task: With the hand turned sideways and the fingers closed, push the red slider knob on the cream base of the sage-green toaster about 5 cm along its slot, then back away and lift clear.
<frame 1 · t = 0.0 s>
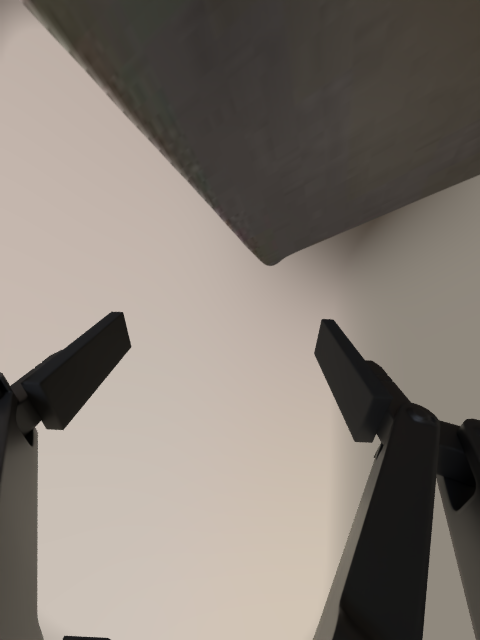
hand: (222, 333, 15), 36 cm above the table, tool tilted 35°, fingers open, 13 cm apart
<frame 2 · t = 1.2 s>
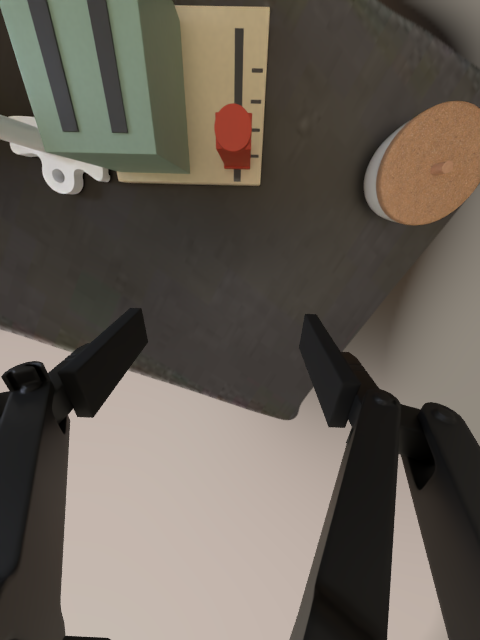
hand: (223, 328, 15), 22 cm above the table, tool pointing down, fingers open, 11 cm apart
trinket box: (390, 178, 30), on the table
toaster: (238, 114, 27), on the table
slider: (235, 144, 22), point 8 cm above the table, slide at 0.0 cm
joystick: (70, 163, 30), on the table
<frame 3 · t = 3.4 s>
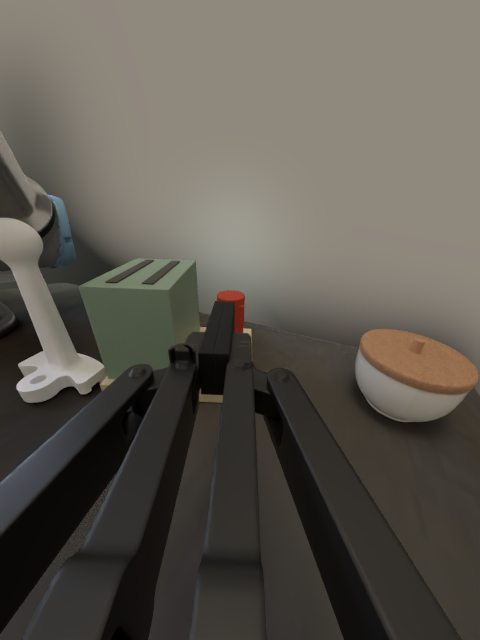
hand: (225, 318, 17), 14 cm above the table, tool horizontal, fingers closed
trinket box: (389, 402, 28), on the table
toaster: (231, 364, 34), on the table
slider: (230, 337, 26), point 8 cm above the table, slide at 0.0 cm
joystick: (59, 384, 30), on the table
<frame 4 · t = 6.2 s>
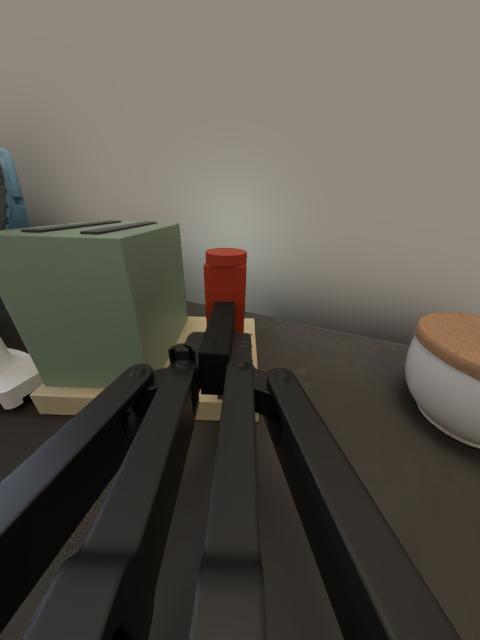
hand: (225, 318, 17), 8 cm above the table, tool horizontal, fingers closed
trinket box: (457, 418, 20), on the table
toaster: (228, 364, 25), on the table
slider: (226, 317, 19), point 8 cm above the table, slide at 1.1 cm, touching gripper
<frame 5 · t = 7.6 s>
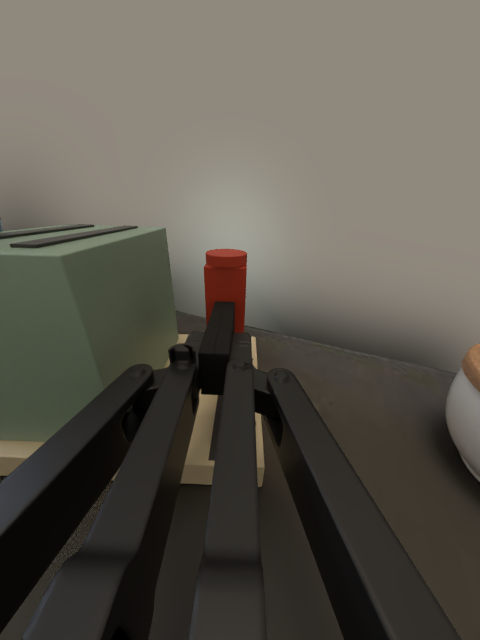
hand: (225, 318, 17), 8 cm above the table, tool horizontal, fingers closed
toaster: (225, 396, 21), on the table
slider: (226, 318, 19), point 8 cm above the table, slide at 5.8 cm, touching gripper
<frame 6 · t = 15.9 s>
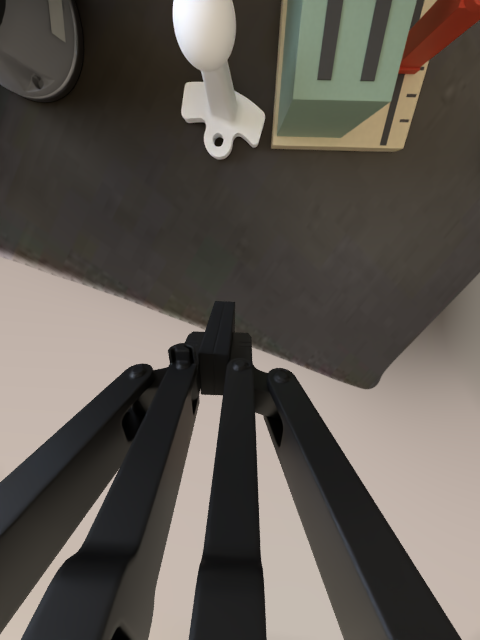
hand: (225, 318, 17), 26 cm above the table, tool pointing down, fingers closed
toaster: (391, 82, 30), on the table
slider: (440, 26, 22), point 8 cm above the table, slide at 5.8 cm
joystick: (222, 129, 33), on the table
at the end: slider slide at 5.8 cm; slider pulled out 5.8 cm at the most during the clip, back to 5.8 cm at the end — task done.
